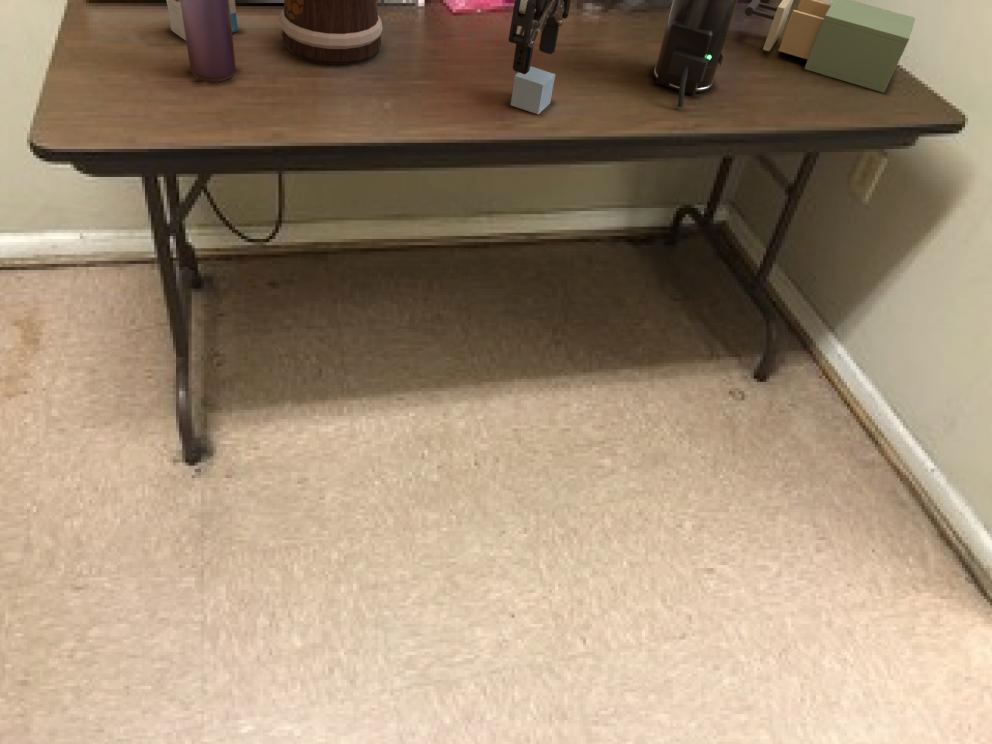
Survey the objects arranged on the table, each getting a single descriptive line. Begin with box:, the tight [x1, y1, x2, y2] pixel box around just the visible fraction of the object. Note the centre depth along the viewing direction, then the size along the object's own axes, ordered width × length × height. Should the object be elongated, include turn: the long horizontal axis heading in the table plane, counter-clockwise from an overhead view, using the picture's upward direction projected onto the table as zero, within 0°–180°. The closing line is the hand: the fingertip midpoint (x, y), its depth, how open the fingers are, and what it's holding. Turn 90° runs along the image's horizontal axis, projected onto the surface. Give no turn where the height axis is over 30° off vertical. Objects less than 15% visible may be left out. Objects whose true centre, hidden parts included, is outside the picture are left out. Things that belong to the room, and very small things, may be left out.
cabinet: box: [804, 0, 916, 94], centre depth 139 cm, size 14×12×9 cm
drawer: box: [744, 0, 832, 60], centre depth 142 cm, size 18×10×7 cm, turn 64°
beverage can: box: [180, 0, 237, 83], centre depth 107 cm, size 6×6×15 cm
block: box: [510, 65, 556, 115], centre depth 116 cm, size 4×4×4 cm
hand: (533, 61), depth 114 cm, fingers open, 8 cm apart
